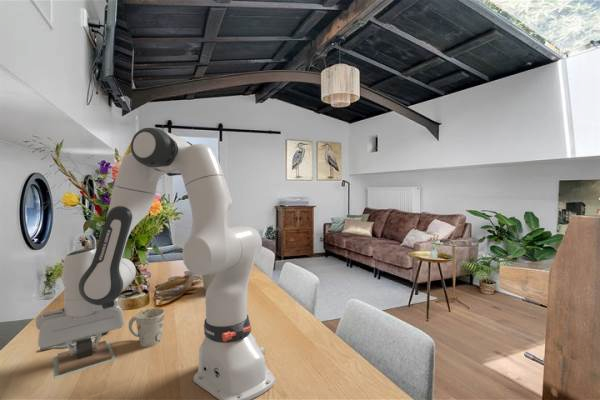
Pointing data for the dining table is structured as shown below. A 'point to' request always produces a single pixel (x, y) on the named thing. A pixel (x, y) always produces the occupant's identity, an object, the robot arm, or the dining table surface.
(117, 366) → the dining table surface
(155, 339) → the mug
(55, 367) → the green mat
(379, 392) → the dining table surface
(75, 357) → the walnut lid
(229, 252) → the robot arm
